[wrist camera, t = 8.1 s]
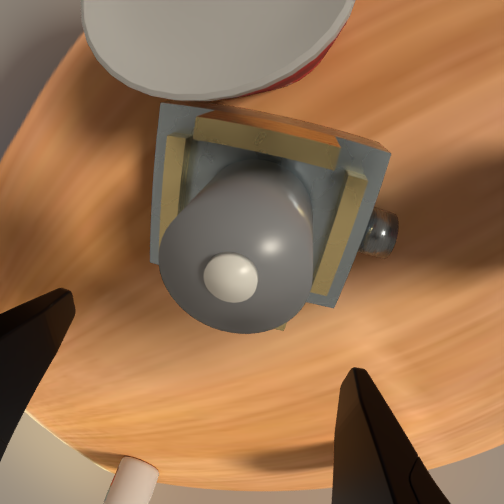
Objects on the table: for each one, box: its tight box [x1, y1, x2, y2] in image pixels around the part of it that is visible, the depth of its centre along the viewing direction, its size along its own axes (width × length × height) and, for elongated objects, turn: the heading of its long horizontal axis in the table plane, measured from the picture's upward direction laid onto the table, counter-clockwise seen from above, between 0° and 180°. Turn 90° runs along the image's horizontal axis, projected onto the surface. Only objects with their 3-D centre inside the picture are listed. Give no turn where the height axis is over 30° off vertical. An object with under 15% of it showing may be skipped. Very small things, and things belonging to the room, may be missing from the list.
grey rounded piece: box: [158, 159, 313, 334], centre depth 15 cm, size 6×6×6 cm
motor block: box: [150, 100, 398, 331], centre depth 17 cm, size 14×10×6 cm
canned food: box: [81, 0, 355, 101], centre depth 10 cm, size 8×8×11 cm
